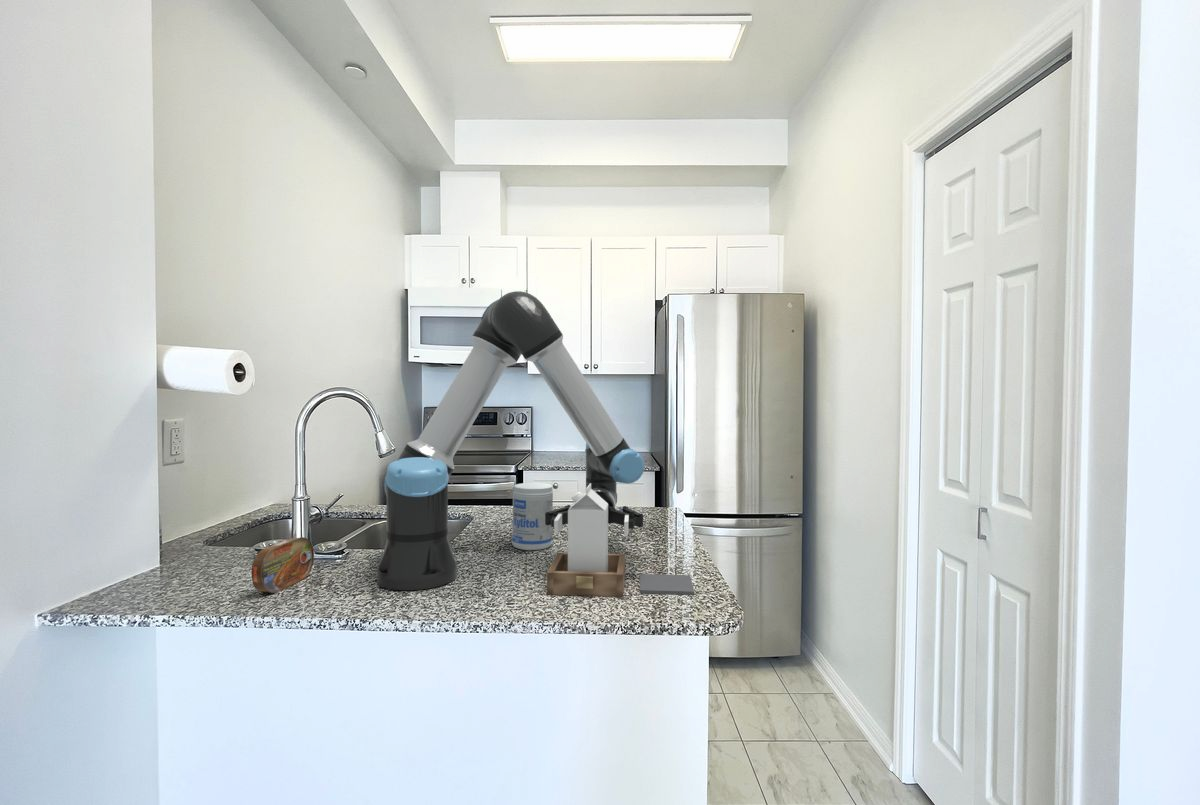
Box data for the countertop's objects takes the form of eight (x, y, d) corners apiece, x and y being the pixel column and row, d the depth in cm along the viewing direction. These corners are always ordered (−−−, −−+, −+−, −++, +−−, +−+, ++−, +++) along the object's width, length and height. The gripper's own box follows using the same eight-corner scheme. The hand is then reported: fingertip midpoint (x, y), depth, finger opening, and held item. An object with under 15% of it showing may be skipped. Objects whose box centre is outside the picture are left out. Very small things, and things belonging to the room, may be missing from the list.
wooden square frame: (546, 595, 111) (546, 573, 111) (557, 571, 125) (557, 552, 125) (622, 597, 110) (623, 575, 110) (625, 573, 124) (625, 554, 124)
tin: (263, 599, 108) (263, 552, 108) (247, 598, 109) (247, 551, 109) (315, 574, 123) (315, 533, 123) (301, 573, 124) (301, 532, 123)
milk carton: (608, 578, 121) (608, 483, 121) (604, 590, 114) (605, 489, 113) (572, 577, 122) (573, 482, 121) (567, 588, 115) (567, 488, 114)
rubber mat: (639, 593, 112) (639, 590, 112) (640, 576, 122) (640, 573, 122) (694, 594, 111) (694, 591, 111) (690, 578, 121) (690, 575, 121)
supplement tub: (508, 551, 141) (508, 488, 141) (515, 541, 151) (516, 482, 150) (550, 551, 141) (550, 488, 141) (554, 541, 150) (554, 482, 150)
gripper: (653, 524, 137) (655, 548, 116) (544, 522, 139) (526, 546, 118) (653, 491, 137) (655, 509, 116) (544, 489, 139) (527, 507, 118)
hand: (590, 528), depth 117 cm, fingers open, 13 cm apart
